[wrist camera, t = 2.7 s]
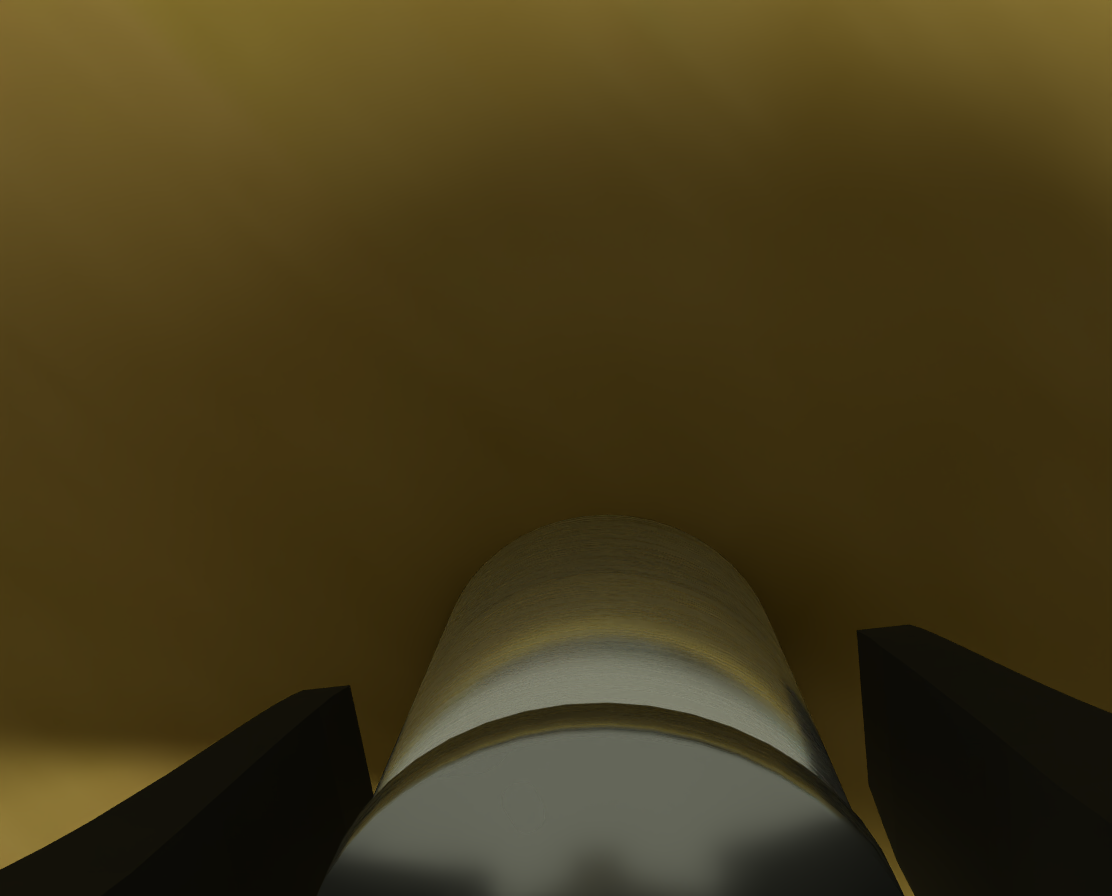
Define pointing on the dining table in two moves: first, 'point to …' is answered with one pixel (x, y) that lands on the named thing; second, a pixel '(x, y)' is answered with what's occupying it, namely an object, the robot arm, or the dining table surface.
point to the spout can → (609, 739)
